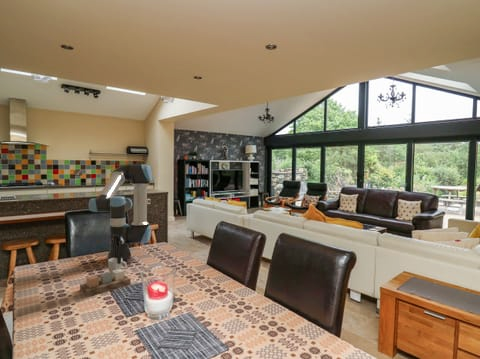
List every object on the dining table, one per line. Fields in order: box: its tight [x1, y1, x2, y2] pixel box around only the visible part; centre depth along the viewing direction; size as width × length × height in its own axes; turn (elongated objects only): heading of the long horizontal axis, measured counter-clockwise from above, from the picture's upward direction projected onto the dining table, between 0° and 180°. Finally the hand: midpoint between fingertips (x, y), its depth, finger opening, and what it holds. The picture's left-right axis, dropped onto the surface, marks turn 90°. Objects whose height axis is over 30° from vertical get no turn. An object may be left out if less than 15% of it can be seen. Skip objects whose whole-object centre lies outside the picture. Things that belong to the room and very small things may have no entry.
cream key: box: [112, 269, 125, 281], centre depth 153 cm, size 4×4×4 cm
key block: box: [79, 274, 132, 298], centre depth 149 cm, size 21×11×3 cm, turn 136°
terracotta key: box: [85, 274, 100, 288], centre depth 144 cm, size 4×4×4 cm
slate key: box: [99, 271, 112, 285], centre depth 149 cm, size 4×4×4 cm
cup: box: [107, 258, 127, 274], centre depth 169 cm, size 11×8×8 cm
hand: (118, 269), depth 153 cm, fingers closed
